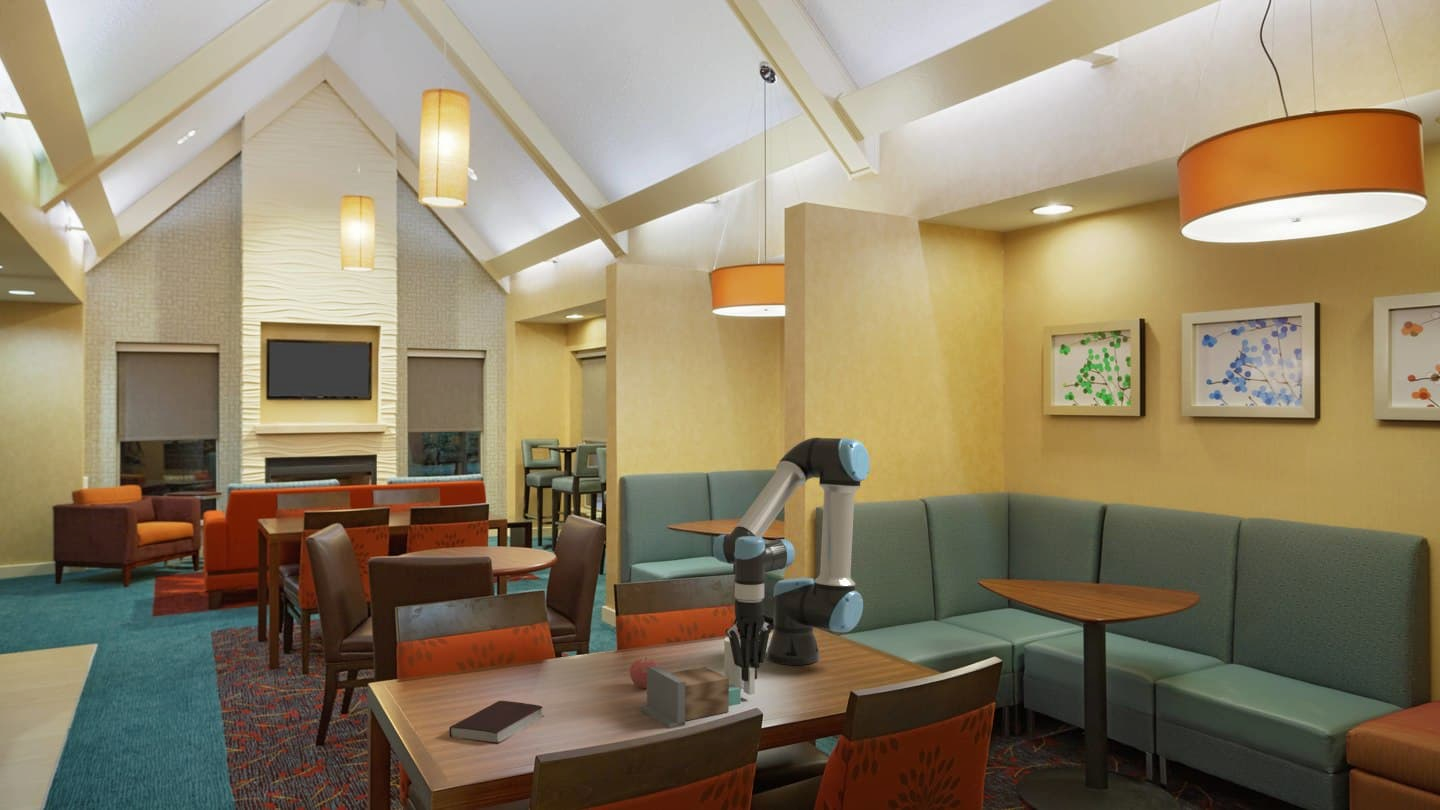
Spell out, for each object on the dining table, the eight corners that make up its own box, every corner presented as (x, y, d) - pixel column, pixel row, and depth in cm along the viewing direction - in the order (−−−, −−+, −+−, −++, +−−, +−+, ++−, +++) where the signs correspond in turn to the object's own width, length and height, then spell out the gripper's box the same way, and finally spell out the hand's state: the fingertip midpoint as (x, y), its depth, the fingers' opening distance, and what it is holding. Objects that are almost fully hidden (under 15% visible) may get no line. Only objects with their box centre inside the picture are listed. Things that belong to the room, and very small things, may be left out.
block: (704, 698, 225) (704, 666, 225) (728, 711, 215) (728, 678, 215) (662, 707, 218) (662, 674, 218) (685, 720, 209) (685, 686, 209)
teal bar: (731, 700, 225) (731, 684, 225) (740, 705, 222) (740, 688, 222) (683, 709, 218) (683, 693, 218) (691, 714, 214) (691, 697, 214)
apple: (663, 685, 236) (664, 654, 236) (650, 693, 229) (650, 662, 229) (639, 681, 239) (639, 651, 239) (624, 689, 232) (625, 658, 232)
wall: (654, 706, 219) (654, 665, 219) (685, 724, 206) (685, 681, 206) (639, 709, 217) (639, 667, 217) (669, 728, 204) (670, 684, 204)
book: (448, 739, 198) (448, 724, 198) (498, 711, 216) (498, 697, 216) (497, 747, 193) (497, 732, 193) (544, 718, 212) (544, 704, 212)
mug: (753, 687, 235) (754, 641, 235) (730, 690, 232) (730, 643, 232) (737, 676, 244) (737, 632, 244) (714, 679, 241) (715, 634, 242)
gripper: (762, 593, 232) (761, 684, 232) (719, 599, 225) (719, 693, 225) (779, 598, 225) (779, 692, 226) (735, 605, 219) (735, 701, 219)
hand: (749, 692), depth 225 cm, fingers closed
